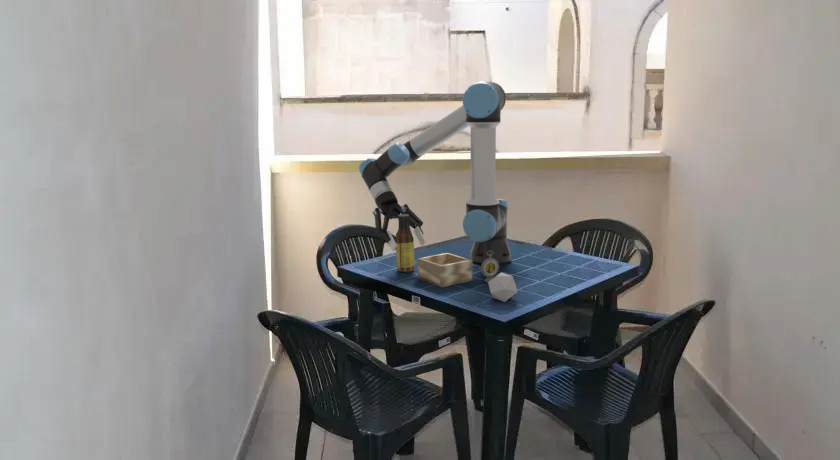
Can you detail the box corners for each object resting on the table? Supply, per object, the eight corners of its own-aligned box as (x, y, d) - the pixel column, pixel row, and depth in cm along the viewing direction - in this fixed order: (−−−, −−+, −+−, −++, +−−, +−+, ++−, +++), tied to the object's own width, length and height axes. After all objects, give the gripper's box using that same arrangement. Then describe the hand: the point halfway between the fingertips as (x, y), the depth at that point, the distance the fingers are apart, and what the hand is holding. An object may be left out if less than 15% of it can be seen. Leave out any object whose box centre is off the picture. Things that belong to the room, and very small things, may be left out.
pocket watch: (499, 286, 218) (500, 256, 216) (476, 282, 223) (477, 253, 221) (510, 280, 225) (511, 251, 223) (487, 276, 230) (488, 248, 227)
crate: (447, 272, 235) (447, 252, 234) (472, 280, 225) (472, 260, 224) (417, 278, 228) (417, 258, 226) (441, 287, 217) (441, 266, 216)
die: (522, 302, 204) (519, 273, 208) (510, 295, 197) (507, 264, 201) (498, 308, 208) (495, 279, 212) (485, 301, 201) (482, 271, 205)
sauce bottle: (418, 269, 239) (417, 214, 234) (408, 273, 233) (407, 217, 229) (402, 267, 242) (402, 212, 238) (392, 271, 237) (391, 215, 233)
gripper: (406, 199, 252) (432, 247, 243) (351, 206, 238) (376, 257, 229) (415, 187, 247) (441, 235, 238) (359, 193, 233) (385, 244, 224)
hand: (409, 246), depth 234 cm, fingers open, 12 cm apart
